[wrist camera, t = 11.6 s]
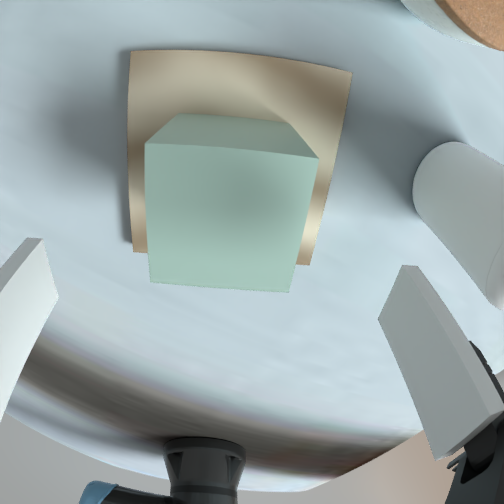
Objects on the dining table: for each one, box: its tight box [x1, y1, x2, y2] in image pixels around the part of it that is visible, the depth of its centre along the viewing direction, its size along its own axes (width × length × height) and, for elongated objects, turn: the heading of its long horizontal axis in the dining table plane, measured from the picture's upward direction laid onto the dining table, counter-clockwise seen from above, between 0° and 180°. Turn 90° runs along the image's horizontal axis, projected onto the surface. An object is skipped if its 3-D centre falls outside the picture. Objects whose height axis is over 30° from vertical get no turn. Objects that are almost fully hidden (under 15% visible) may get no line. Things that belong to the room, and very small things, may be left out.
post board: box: [127, 50, 352, 265], centre depth 18 cm, size 15×14×8 cm
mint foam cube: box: [145, 113, 319, 293], centre depth 17 cm, size 7×7×8 cm
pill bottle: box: [412, 142, 504, 311], centre depth 16 cm, size 8×8×15 cm
